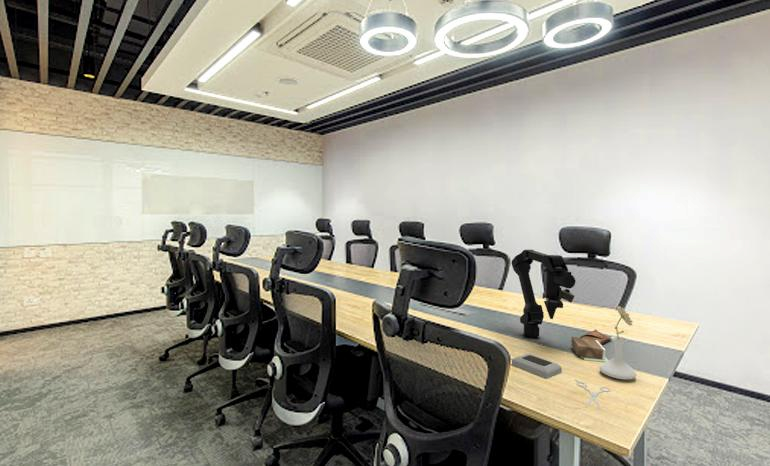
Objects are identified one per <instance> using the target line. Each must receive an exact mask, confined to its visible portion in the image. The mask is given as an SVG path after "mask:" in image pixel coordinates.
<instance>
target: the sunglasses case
mask: <svg viewBox="0 0 770 466" xmlns="http://www.w3.org/2000/svg"><path fill="white" fill-rule="evenodd" d="M579 338H584V339H591V340H597V341H598V342H599V343H600V344H601V345H602V346H603V345H604V344H606V343H608V342H610V341H611V340H612V339H611V337H609V336H607V335H605V334H603V333H601V332H600V331H598V330H597V329H594V330H592V331H590V332H588V333H586V334H584V335H581V336H580V337H579Z"/></svg>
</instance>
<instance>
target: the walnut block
mask: <svg viewBox="0 0 770 466" xmlns="http://www.w3.org/2000/svg"><path fill="white" fill-rule="evenodd" d="M570 342H571V344H570V346H571V348H572V349H573V351H574V352H575V355H577V356H579V357H580V356H584V357H591V358H597V359H603V360H605V357H606V351H607V350H606V349H605V348H604V347H603V344H602V345H601V344H600V343H599V342H598V341H597V340H591V339H584V338H580V337H577V336H571V340H570Z"/></svg>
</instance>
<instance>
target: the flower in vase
mask: <svg viewBox="0 0 770 466" xmlns="http://www.w3.org/2000/svg"><path fill="white" fill-rule="evenodd" d="M616 310H617V312H618V314H619V316H620V318H619V319H618V321H617V323H616V325H614V329H615V330H616V335H612V336H610V338H611V340H612V342H613V346H614V355H613V357H612V358H610V359H608V361H606V362H602V363H601V364H600V365H599V368H598V369H599V370H600V371H601V373H603V374H604V375H606V376H608V377H611V378H613V379H614V378H615V379H617V380H633V379H635V378H636V377H637V372H636V371H635V369H634V368H632V366H631V365H629V364H628V363H627V362H626V361H625V360H624V359H623V348H624V344H625V343H626V342H627V341H628V339H627V338H625V337H623V336H619V335H620V334H622V333H625V331H624V330H622V331H619V330H618V325H619V323H620V321H621V320H623V321H624V322H625V323H626V324H627V325H628V326H629V327H630V326H631V327H632V326H634V324H633V320H632V319H631V317H630V315H629V313H627V311H626V310H625V308H624V307H621V306H620V305H619V306H616Z"/></svg>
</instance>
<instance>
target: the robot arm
mask: <svg viewBox="0 0 770 466" xmlns="http://www.w3.org/2000/svg"><path fill="white" fill-rule="evenodd" d="M563 257H564V256H562V255H560V254H546V253H542V252H540V251H536V250H534V249H523V250H522V251H521V252H520V253H519V254H516V255H515V257H514V258H513V259H512V260H511V267H512V269H513V271H514V273H515V274H516V275H517V276H518V279H519V282H520V287H521V291H522V296H523V300H524V306H523V309H522V310H523V311H522V312H523V314H522V315H521V316H520V317H519V321H520V324H523V332H522V335H523V338H528V339H536V340H537V339H539V337H540V327H539V325H542V324H543V321H544V316H545V315H544V314H545V313H544V310H543V306H542V304H539V303H538V302H537V301H536V297H535V293H534V289H533V285H532V282H531V278H530V270H531V265H532V264H533V262H534V261H535V262H538V263H540V264H542V266H543V267H544V268H545V269H543V273H545V274H546V276H545V284H544V288H545V291H544V292H542V295H541V296H542V299H545V300H543V302H544V305H545V306H544V307H545V309H546V311H547V314H548V317H549V320H553V319H554V317H555V313H556V310H557V309H563V308H564V303H563V301H562V300H565V301H567V302H568V303H570V304H571V303H573V300H574V299H575V295H574V294H573V293H571V290H570V289H572V288H573V287H575V285H576V283H577V282H576V278H575V276H574V275H572V271H569V269H568V265H567V264H566V262H565V259H564V258H563ZM562 288H565V289H562Z"/></svg>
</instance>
